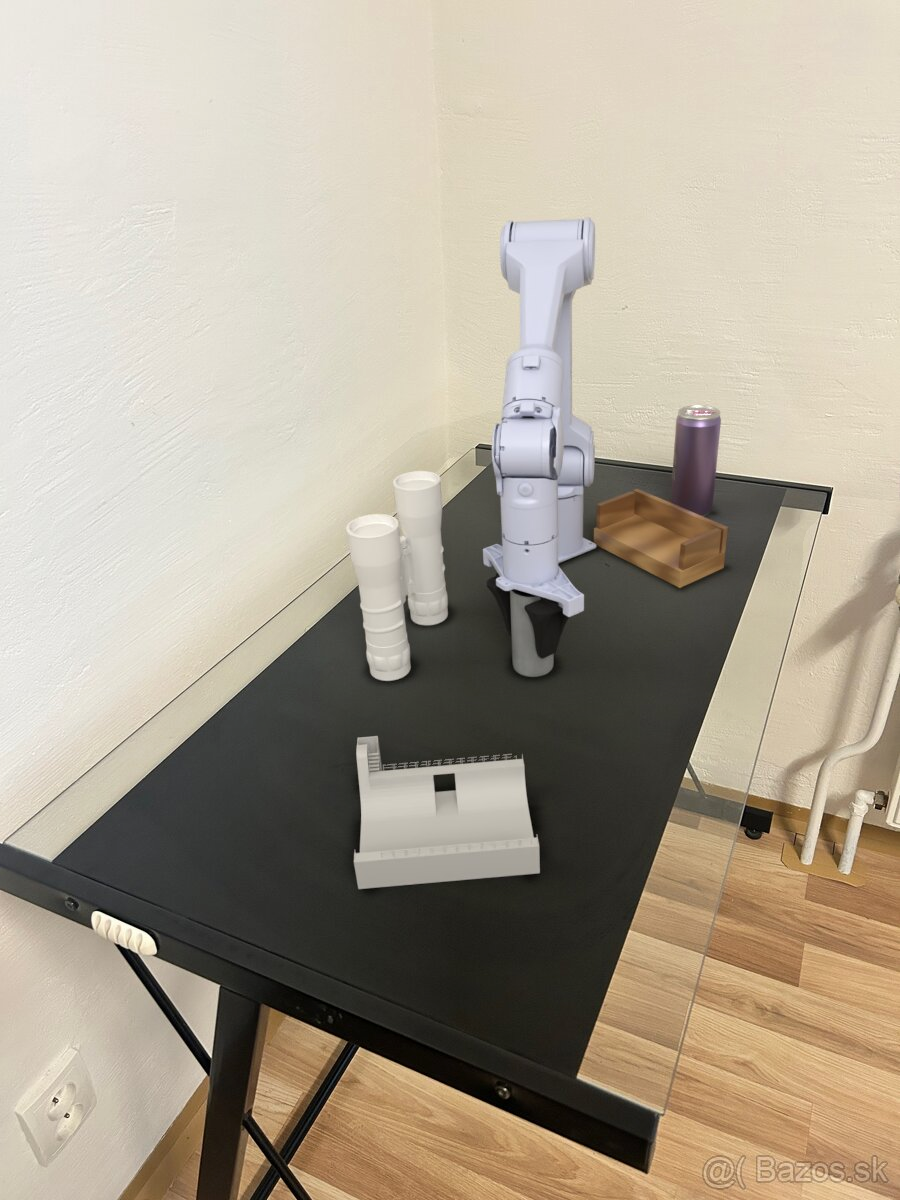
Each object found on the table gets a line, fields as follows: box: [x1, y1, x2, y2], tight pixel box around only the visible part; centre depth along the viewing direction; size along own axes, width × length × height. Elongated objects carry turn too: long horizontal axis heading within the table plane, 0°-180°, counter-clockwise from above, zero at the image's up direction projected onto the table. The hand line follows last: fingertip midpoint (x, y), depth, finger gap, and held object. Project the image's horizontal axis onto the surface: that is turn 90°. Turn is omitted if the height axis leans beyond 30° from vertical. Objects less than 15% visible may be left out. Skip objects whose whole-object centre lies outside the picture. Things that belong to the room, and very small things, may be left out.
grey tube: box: [510, 589, 555, 678], centre depth 95 cm, size 4×4×10 cm
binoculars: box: [345, 470, 449, 682], centre depth 99 cm, size 17×5×18 cm, turn 159°
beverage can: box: [669, 404, 722, 517], centre depth 125 cm, size 6×6×15 cm
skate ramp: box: [353, 735, 541, 890], centre depth 77 cm, size 15×13×5 cm
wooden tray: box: [593, 488, 729, 589], centre depth 116 cm, size 16×8×6 cm, turn 34°
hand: (532, 643), depth 96 cm, fingers closed on grey tube, 4 cm apart
